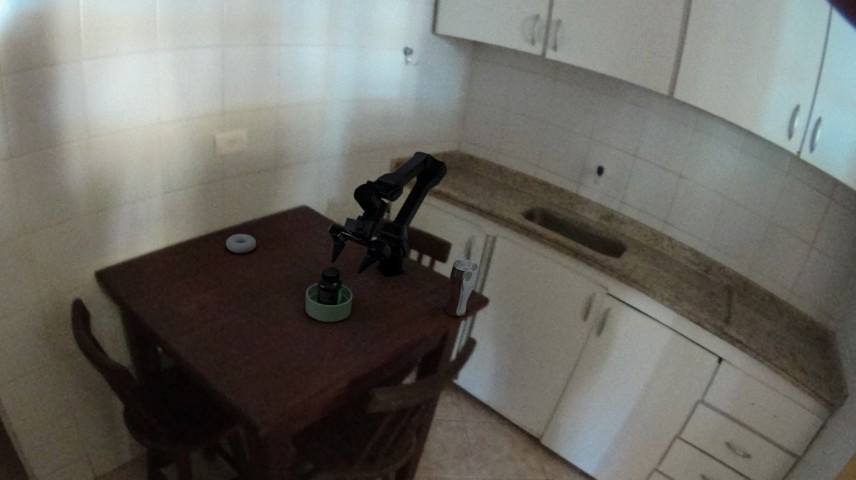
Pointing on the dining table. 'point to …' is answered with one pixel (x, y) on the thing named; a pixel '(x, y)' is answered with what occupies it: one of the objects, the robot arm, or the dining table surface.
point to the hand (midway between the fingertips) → (345, 267)
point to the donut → (241, 243)
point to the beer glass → (460, 287)
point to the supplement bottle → (329, 287)
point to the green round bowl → (328, 311)
